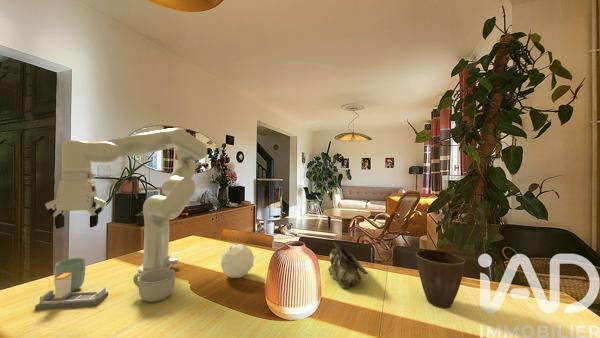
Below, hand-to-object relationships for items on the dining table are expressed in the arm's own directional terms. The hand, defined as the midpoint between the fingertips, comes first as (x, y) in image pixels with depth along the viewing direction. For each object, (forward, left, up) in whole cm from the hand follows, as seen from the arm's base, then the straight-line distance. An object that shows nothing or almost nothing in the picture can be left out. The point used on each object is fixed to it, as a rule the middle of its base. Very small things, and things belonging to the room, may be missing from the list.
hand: (76, 227), depth 86 cm
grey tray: (-4, +6, -23) cm, 24 cm away
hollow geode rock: (-99, -2, -23) cm, 101 cm away
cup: (+3, -3, -23) cm, 23 cm away
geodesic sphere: (-54, -8, -23) cm, 59 cm away
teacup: (-27, +6, -23) cm, 36 cm away
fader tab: (0, +6, -21) cm, 22 cm away
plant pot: (-123, +24, -23) cm, 127 cm away
